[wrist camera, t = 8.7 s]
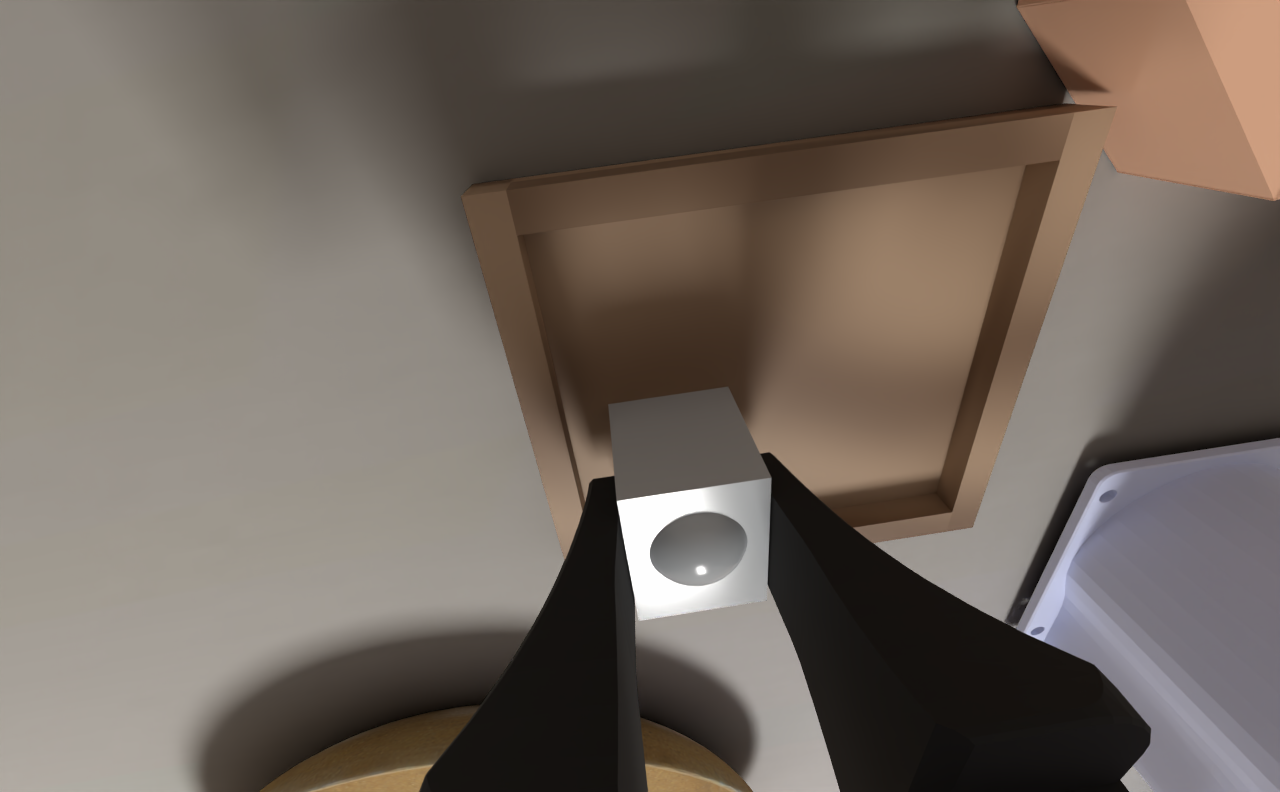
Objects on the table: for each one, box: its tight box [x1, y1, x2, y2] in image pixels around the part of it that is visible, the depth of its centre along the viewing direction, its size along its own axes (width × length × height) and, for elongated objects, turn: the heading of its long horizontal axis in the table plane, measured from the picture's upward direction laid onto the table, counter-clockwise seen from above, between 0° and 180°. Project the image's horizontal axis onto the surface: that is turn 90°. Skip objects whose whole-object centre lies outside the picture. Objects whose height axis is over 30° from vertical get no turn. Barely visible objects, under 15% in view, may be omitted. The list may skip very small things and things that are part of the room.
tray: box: [461, 104, 1117, 560], centre depth 13 cm, size 11×12×1 cm
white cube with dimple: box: [608, 387, 771, 621], centre depth 12 cm, size 4×3×4 cm
